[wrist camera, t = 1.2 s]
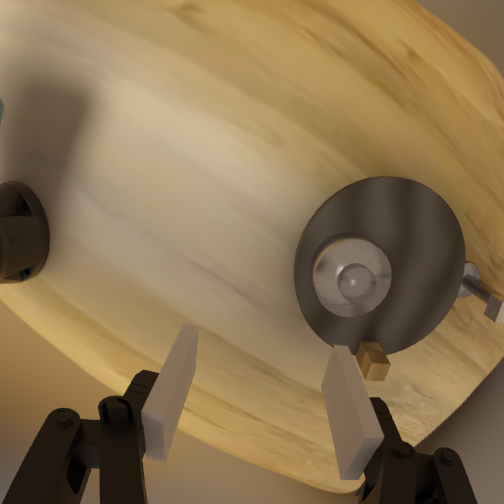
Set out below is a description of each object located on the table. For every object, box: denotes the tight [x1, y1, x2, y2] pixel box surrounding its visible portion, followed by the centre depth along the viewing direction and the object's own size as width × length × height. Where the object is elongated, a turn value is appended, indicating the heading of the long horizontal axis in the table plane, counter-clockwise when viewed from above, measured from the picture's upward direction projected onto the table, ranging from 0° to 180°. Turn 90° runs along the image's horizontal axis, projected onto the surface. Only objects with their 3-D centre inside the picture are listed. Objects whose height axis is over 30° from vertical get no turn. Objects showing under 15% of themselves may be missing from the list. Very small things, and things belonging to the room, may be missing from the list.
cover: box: [310, 232, 392, 317], centre depth 32 cm, size 8×8×6 cm
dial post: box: [457, 262, 504, 323], centre depth 32 cm, size 6×5×13 cm
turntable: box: [294, 177, 465, 381], centre depth 33 cm, size 22×22×7 cm
